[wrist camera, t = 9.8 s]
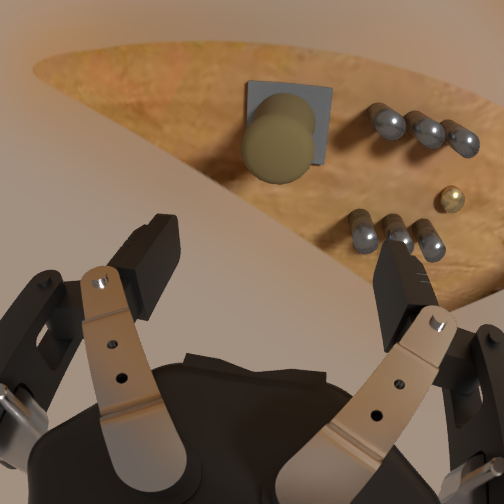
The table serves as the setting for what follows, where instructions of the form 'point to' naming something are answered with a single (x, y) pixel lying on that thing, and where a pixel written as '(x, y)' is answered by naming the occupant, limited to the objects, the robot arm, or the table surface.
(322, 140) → the coaster
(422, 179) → the table surface
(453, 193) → the glossy gold bead
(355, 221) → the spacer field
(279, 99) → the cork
